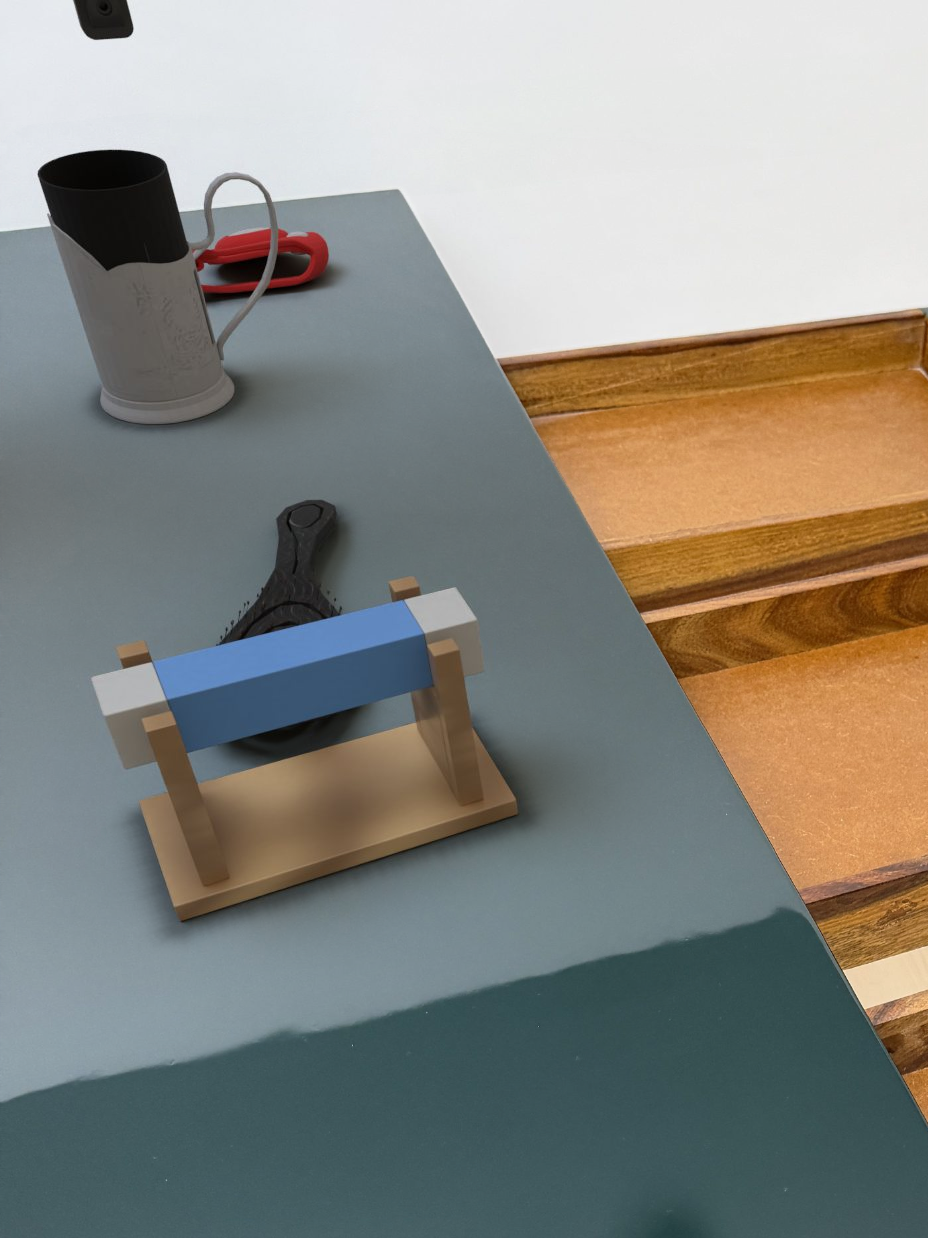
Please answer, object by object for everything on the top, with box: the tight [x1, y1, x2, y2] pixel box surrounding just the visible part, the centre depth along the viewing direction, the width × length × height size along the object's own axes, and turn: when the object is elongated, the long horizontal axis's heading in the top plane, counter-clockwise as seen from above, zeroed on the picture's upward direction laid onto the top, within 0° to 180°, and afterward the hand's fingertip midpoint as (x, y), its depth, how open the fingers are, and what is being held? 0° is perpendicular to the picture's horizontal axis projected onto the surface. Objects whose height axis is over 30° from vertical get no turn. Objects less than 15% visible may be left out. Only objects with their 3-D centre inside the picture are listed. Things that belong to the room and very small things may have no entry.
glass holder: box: [37, 149, 279, 425], centre depth 95 cm, size 9×14×15 cm, turn 123°
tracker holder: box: [192, 226, 330, 294], centre depth 112 cm, size 12×4×10 cm
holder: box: [115, 575, 519, 922], centre depth 65 cm, size 16×8×10 cm, turn 120°
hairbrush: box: [215, 499, 343, 728], centre depth 79 cm, size 8×4×25 cm
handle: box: [90, 586, 486, 770], centre depth 63 cm, size 16×3×3 cm, turn 120°
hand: (94, 12), depth 68 cm, fingers open, 8 cm apart
